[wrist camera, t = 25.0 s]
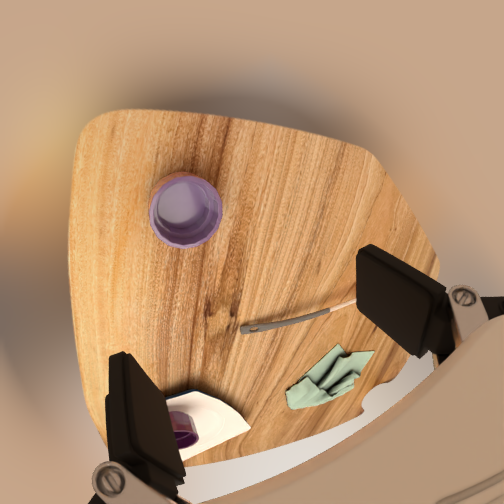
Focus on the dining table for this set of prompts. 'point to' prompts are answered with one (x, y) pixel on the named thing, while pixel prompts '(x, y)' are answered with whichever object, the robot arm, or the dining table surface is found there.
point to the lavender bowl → (184, 210)
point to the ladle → (292, 321)
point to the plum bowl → (183, 429)
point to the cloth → (328, 378)
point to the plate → (207, 419)
